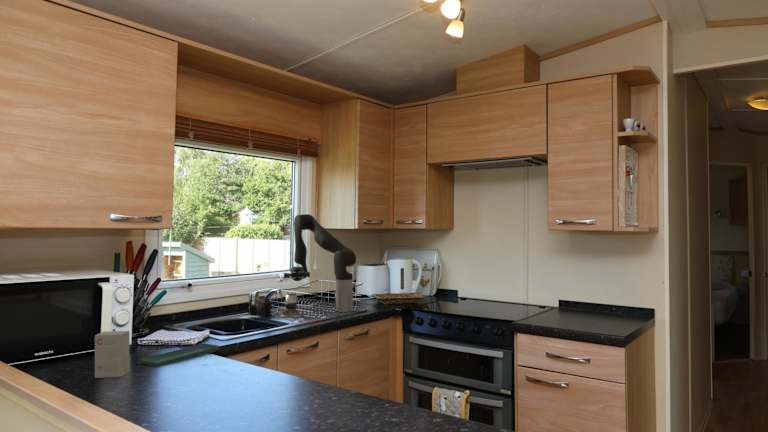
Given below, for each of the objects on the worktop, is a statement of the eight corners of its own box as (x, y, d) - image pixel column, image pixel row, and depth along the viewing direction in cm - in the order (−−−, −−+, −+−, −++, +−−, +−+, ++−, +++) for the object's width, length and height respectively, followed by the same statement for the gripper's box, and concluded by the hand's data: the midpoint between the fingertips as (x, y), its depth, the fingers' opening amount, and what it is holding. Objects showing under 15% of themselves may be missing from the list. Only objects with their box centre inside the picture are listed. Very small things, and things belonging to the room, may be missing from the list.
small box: (129, 371, 165) (130, 330, 165) (121, 377, 158) (122, 334, 159) (103, 372, 164) (103, 331, 164) (93, 378, 158) (94, 335, 158)
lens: (296, 313, 273) (296, 293, 273) (296, 314, 267) (296, 294, 268) (286, 313, 272) (286, 293, 273) (285, 315, 267) (285, 294, 267)
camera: (246, 315, 273) (246, 296, 273) (264, 314, 277) (263, 295, 277) (254, 320, 257) (254, 300, 257) (272, 318, 261) (272, 298, 261)
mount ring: (300, 312, 275) (300, 309, 275) (299, 315, 266) (299, 312, 266) (283, 313, 274) (283, 310, 274) (281, 315, 265) (281, 312, 265)
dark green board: (156, 369, 169) (156, 361, 169) (139, 365, 174) (139, 357, 174) (220, 352, 192) (220, 345, 192) (203, 349, 196) (203, 343, 197)
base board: (301, 313, 275) (301, 312, 275) (300, 317, 265) (300, 315, 265) (282, 314, 274) (282, 312, 274) (280, 317, 264) (280, 316, 264)
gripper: (285, 268, 300) (283, 269, 284) (310, 267, 301) (309, 268, 285) (285, 281, 299) (283, 283, 283) (310, 280, 301) (309, 282, 285)
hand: (296, 275), depth 284 cm, fingers open, 8 cm apart
